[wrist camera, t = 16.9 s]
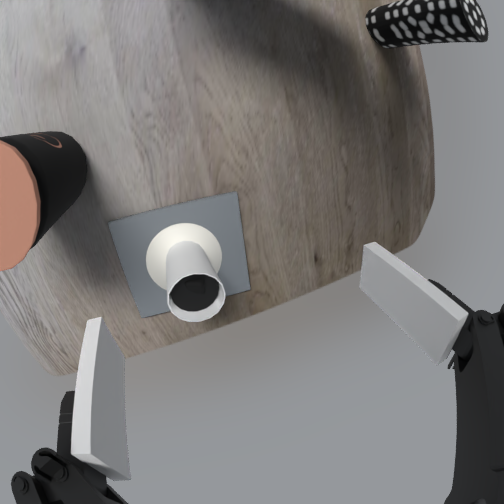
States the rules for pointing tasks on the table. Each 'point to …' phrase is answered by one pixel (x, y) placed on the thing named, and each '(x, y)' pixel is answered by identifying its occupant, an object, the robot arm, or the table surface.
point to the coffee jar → (35, 188)
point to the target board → (176, 230)
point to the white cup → (192, 283)
